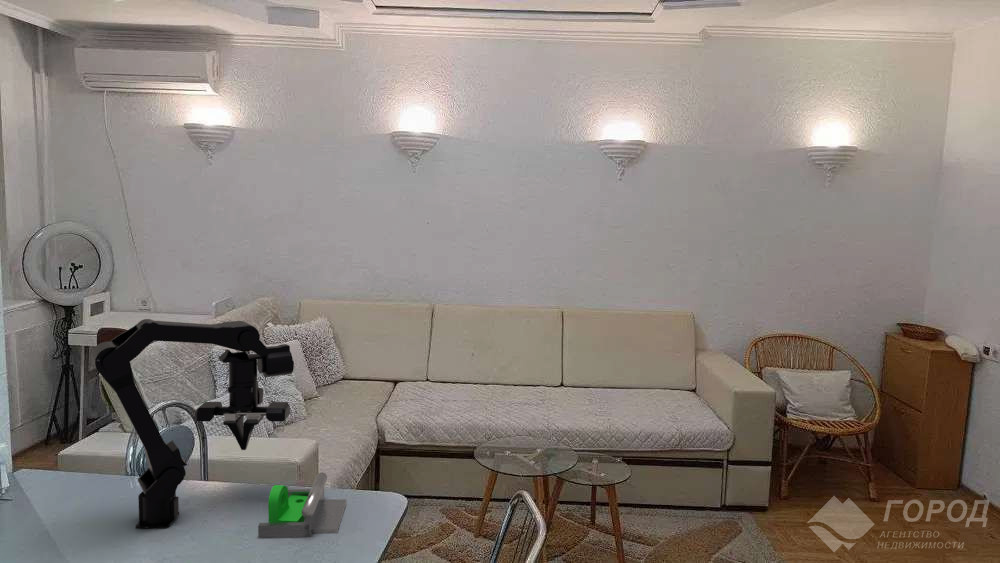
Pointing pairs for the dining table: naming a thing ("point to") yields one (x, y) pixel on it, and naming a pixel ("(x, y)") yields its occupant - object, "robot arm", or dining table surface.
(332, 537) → the dining table surface
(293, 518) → the mechanical part
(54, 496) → the dining table surface
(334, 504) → the bracket
